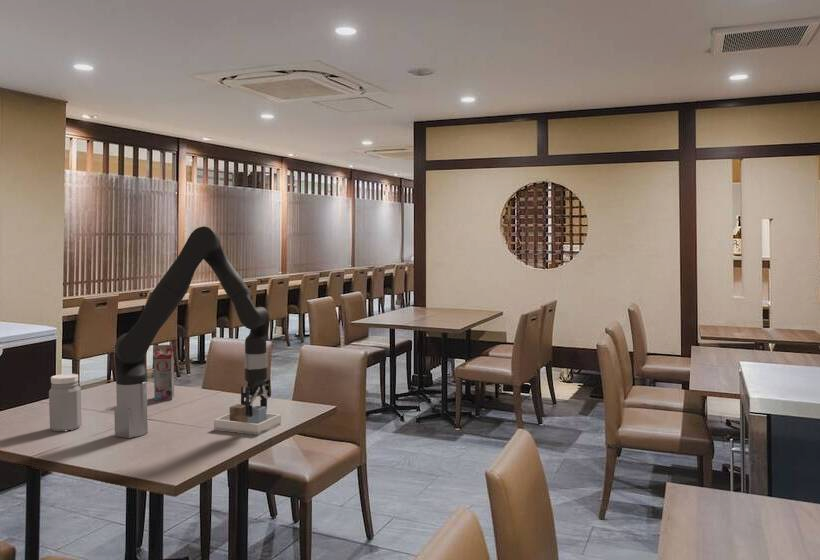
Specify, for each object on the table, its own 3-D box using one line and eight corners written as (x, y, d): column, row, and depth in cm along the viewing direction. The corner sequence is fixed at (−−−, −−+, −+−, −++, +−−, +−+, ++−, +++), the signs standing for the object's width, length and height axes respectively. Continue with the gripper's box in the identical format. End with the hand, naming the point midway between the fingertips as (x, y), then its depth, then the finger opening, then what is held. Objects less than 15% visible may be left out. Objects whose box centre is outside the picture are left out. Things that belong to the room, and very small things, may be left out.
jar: (65, 433, 210) (64, 379, 210) (42, 431, 213) (41, 377, 212) (88, 425, 220) (87, 374, 219) (66, 423, 223) (64, 372, 222)
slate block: (247, 426, 216) (247, 408, 215) (255, 422, 220) (255, 405, 220) (259, 427, 214) (258, 409, 214) (266, 424, 218) (266, 406, 218)
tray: (258, 435, 209) (258, 424, 208) (214, 429, 215) (213, 419, 215) (280, 424, 221) (280, 414, 221) (238, 419, 227) (238, 410, 227)
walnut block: (229, 424, 218) (229, 407, 218) (237, 421, 222) (237, 404, 222) (241, 425, 216) (240, 408, 216) (248, 422, 221) (248, 405, 220)
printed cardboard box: (172, 400, 257) (171, 345, 256) (154, 401, 255) (153, 346, 254) (174, 396, 263) (173, 343, 262) (157, 397, 262) (156, 344, 260)
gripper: (258, 361, 224) (259, 407, 225) (233, 369, 210) (234, 417, 211) (277, 363, 221) (277, 409, 222) (253, 370, 208) (253, 419, 209)
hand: (256, 413), depth 217 cm, fingers open, 8 cm apart
